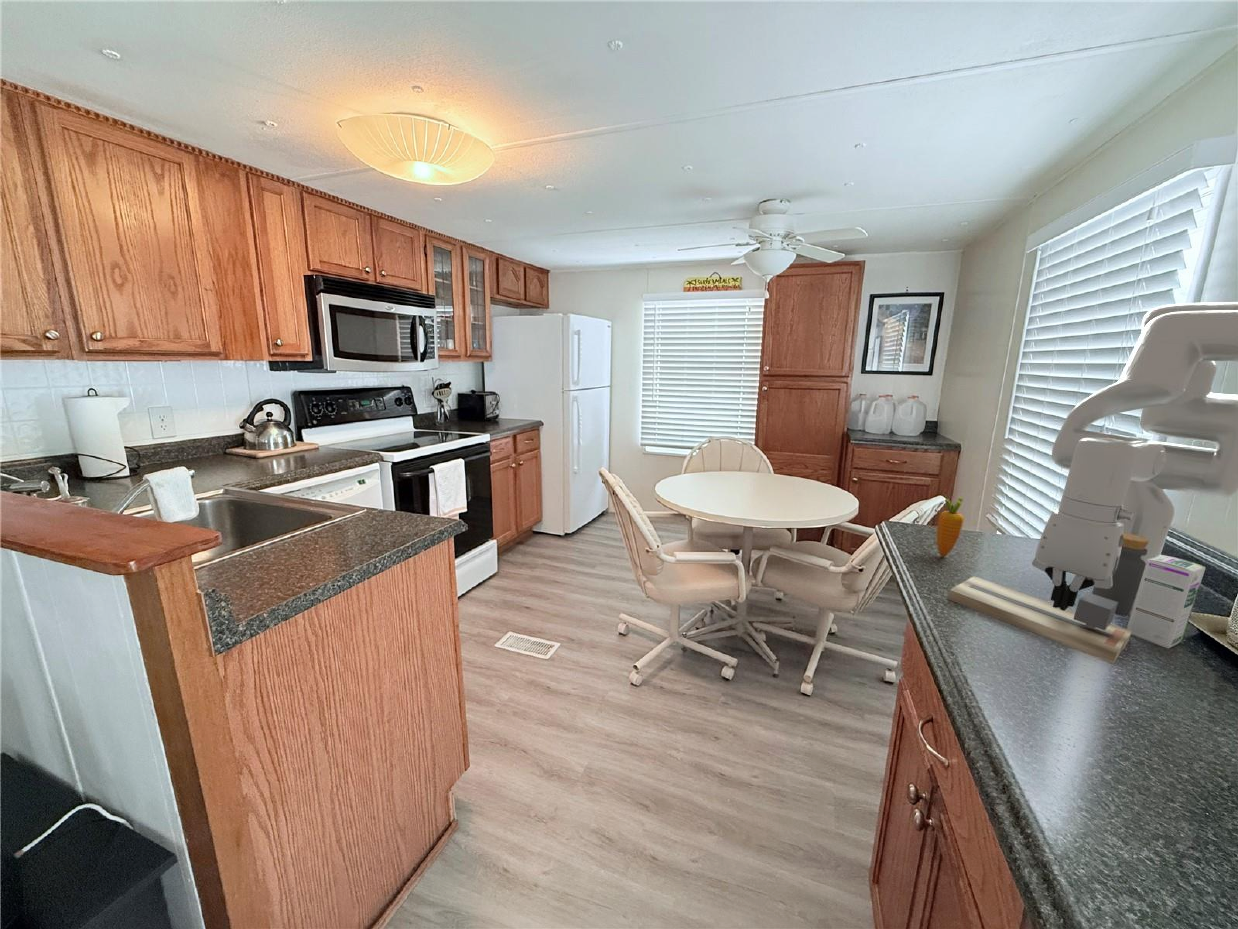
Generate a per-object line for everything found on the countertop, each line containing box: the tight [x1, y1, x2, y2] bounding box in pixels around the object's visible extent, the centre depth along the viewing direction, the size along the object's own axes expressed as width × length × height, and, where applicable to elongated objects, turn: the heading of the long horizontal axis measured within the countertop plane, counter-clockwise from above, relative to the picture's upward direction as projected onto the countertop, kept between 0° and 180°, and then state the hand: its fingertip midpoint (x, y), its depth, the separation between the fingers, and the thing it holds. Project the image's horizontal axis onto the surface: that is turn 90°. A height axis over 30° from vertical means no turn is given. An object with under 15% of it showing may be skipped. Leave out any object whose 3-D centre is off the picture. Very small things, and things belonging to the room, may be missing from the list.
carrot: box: [936, 497, 965, 558], centre depth 117 cm, size 5×5×15 cm
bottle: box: [1091, 533, 1149, 616], centre depth 96 cm, size 6×6×15 cm
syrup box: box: [1126, 554, 1206, 649], centre depth 86 cm, size 6×6×14 cm
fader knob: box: [1074, 591, 1118, 630], centre depth 84 cm, size 5×4×5 cm
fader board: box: [947, 575, 1132, 665], centre depth 91 cm, size 12×24×2 cm, turn 35°
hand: (1060, 606), depth 88 cm, fingers closed
